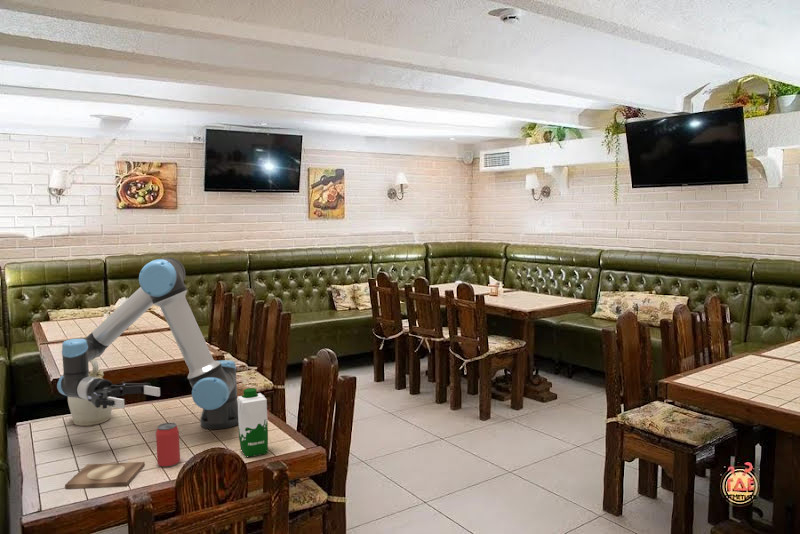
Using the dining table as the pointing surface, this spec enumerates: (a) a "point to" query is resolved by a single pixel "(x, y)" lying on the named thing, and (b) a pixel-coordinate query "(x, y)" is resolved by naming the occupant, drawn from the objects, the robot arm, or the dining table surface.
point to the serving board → (105, 475)
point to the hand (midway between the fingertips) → (141, 397)
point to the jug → (89, 405)
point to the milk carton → (253, 423)
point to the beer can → (167, 445)
